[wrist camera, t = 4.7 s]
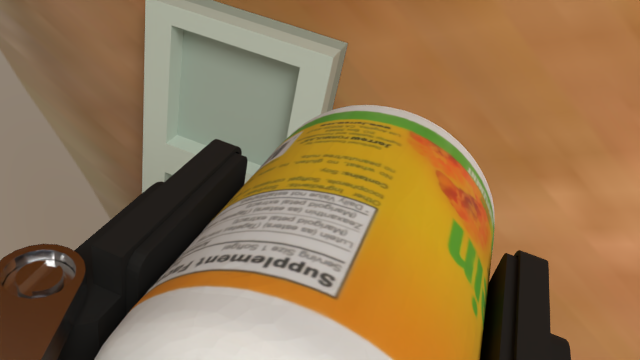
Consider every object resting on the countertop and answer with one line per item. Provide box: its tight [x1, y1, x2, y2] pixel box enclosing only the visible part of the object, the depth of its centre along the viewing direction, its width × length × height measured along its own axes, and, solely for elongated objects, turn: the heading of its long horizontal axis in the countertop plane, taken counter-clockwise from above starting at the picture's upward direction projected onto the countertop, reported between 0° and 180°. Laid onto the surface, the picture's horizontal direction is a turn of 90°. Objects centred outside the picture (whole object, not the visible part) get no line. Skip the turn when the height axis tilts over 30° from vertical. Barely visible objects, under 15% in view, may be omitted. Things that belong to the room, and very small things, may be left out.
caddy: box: [142, 0, 348, 193], centre depth 32 cm, size 18×10×2 cm, turn 168°
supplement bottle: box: [94, 105, 494, 360], centre depth 9 cm, size 5×5×10 cm
